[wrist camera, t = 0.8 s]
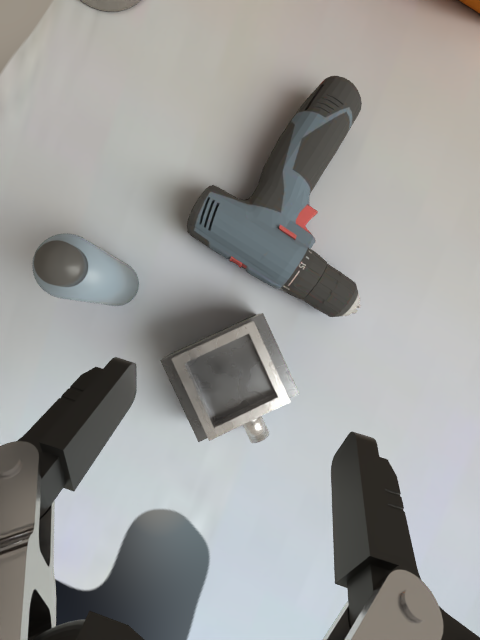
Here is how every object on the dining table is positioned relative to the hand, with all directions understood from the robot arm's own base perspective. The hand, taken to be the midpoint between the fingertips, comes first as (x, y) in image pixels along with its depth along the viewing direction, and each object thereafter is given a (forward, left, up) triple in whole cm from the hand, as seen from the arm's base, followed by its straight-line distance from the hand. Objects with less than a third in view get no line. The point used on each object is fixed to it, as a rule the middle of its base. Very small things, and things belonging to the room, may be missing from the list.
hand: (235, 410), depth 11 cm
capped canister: (-11, -7, -21) cm, 25 cm away
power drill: (-10, +15, -22) cm, 28 cm away
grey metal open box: (+3, 0, -21) cm, 21 cm away
